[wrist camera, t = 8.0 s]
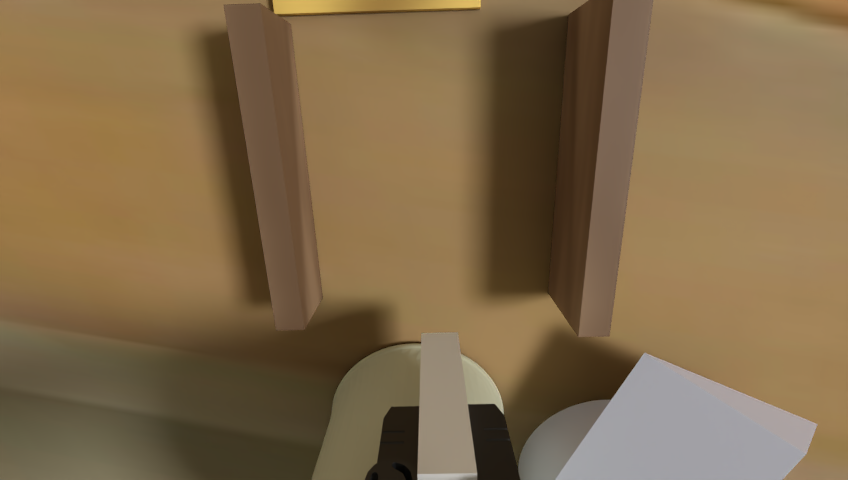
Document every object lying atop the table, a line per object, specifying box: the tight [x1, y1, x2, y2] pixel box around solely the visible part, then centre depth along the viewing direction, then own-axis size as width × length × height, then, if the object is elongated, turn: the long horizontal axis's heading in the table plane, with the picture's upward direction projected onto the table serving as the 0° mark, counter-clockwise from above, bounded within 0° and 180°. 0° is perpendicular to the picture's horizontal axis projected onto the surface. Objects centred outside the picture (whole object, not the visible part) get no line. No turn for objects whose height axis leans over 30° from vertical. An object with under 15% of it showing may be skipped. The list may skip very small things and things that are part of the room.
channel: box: [224, 0, 653, 337], centre depth 15 cm, size 13×14×4 cm
